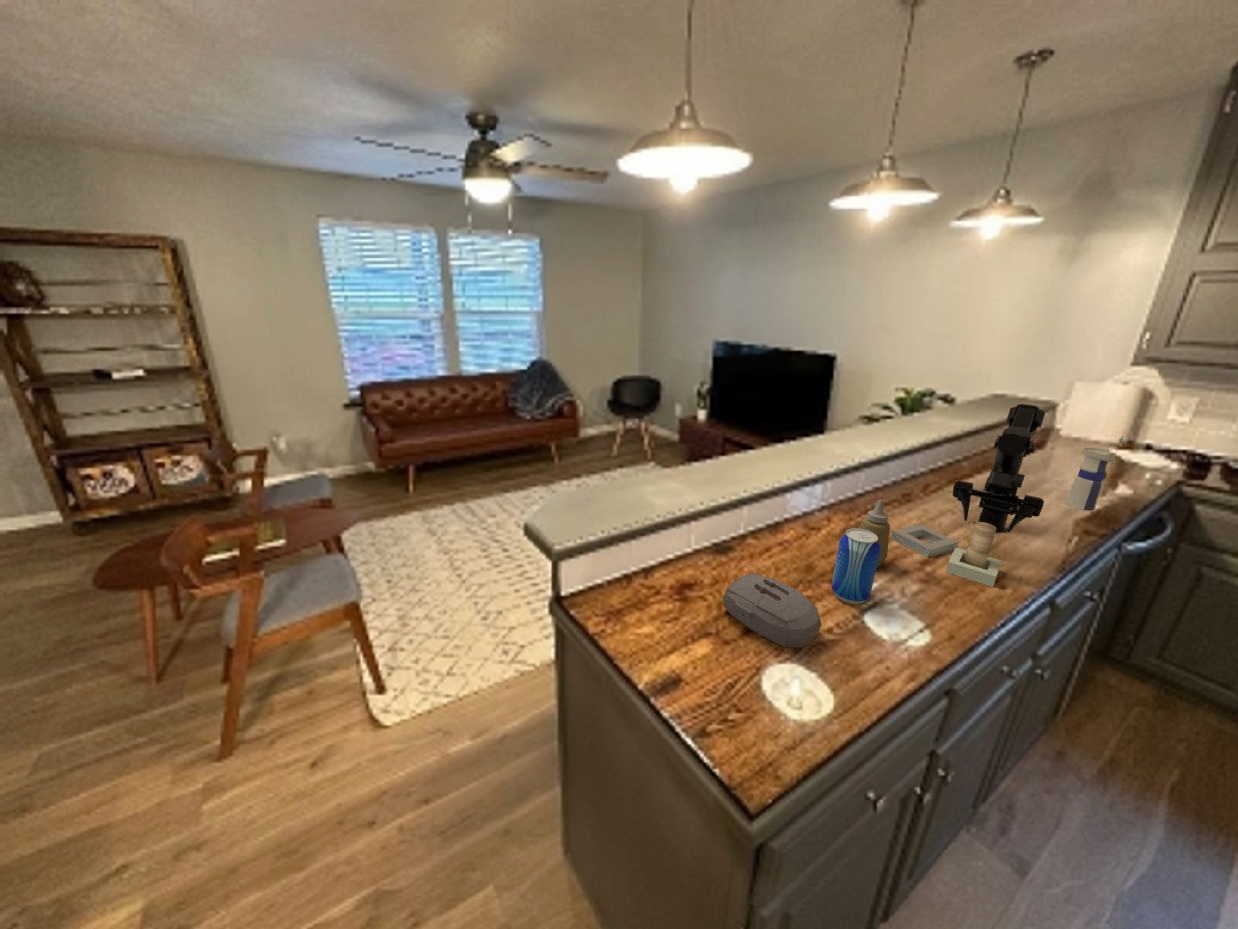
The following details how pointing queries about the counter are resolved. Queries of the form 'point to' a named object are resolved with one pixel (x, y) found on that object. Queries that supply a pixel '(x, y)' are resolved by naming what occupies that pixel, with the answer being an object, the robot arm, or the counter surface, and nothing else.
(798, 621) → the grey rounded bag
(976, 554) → the tan rounded peg
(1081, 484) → the water bottle
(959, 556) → the collar
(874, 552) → the beer can
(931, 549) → the socket block
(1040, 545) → the counter surface
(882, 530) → the squeeze bottle
